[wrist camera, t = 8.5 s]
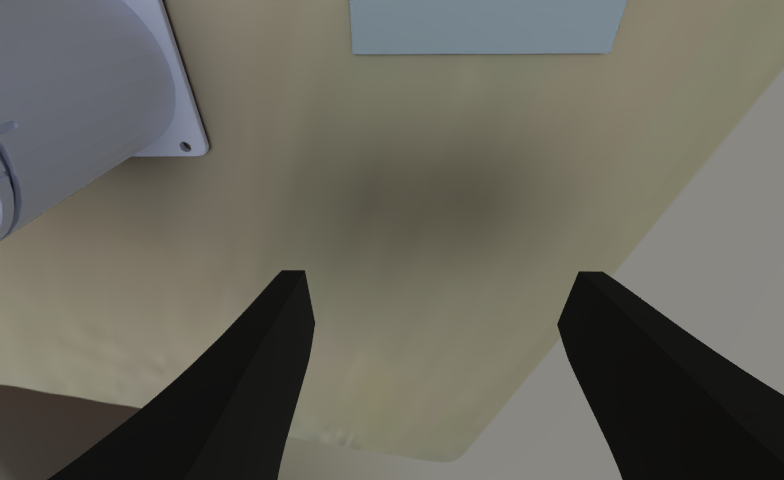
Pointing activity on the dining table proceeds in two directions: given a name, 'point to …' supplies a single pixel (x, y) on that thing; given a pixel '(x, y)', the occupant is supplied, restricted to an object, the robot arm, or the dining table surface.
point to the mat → (484, 26)
